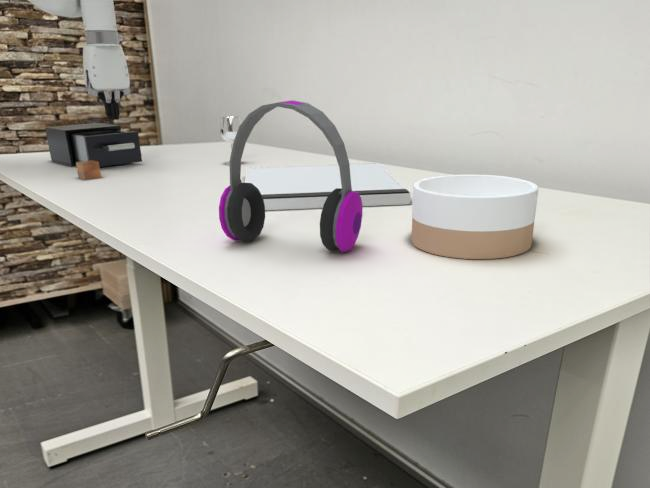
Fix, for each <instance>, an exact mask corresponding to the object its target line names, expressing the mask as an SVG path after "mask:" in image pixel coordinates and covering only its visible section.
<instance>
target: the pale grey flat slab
mask: <svg viewBox="0 0 650 488" xmlns="http://www.w3.org/2000/svg"><path fill="white" fill-rule="evenodd" d="M349 165H350V176H351V187H352V191H355V192H357V193H358V194H359V195H360V197H361V200H362V205H363V207H377V206H400V205H404V206H405V205H411V197H412V196H411V195H412V194H411V191H410V190H409V189H408V188H407V187H406V186H404V185H403V184H402V183H401V182H400V181H399V180H398V179H397V178H395V177H394V175H392V173H390V172H389V171H388V170H387V169H386V168H384V167H383V165H381V164H380V162H361V163H349ZM243 183H252V184H253V185H254V186H256V187H257V188H258V189H259V191H260V193H261V195H262V197H263V200H264V205H265V211H283V210H304V209H306V210H307V209H309V210H310V209H323V206H324V203H325V201H326V199H327V197H328V195H329V194H330V193H331V192H332V191H333V190H335V189H336V188H341V189H342V185H341V177H340V169H339V165H338V163H335V164H312V165H311V164H307V165H306V164H305V165H283V166H282V165H278V166H255V167H254V166H253V167H246V169H245V177H244V181H243Z"/></svg>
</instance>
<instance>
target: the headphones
mask: <svg viewBox="0 0 650 488" xmlns="http://www.w3.org/2000/svg"><path fill="white" fill-rule="evenodd" d="M276 108H283V109H287V110H288V109H289V110H293V111H295V112H296V113H299V114H300V115H302V116H304V117H305V118H308V119H309V121H311V122H312V123H313V124H314V125H315V126H316V127H317V128H318V129H319V130H320V131H321V133H323V135H324V136H325V138H326V140H327V142H328V143H329V144H330V146H331V148H332V150H333V152H334V156H335V158H336V163H337V164H338V165H339V169H340V177H341V185H342V189H341V188H336V189H335V190H333V191H332V192H331V193H330V194H329V195H328V197H327V199H326V201H325V203H324V206H323V208H321V209H322V210H321V213H320V219H319V237H320V240H321V244H322V245H323V247H325V249H326V250H328V251H331V252H332V251H333V252H334V251H338V250H339V251H340V252H341V253H346V252H349V251H351V250H352V249H353V248H354V246H355V245H356V242H357V240H358V238H359V234H360V231H361V228H362V221H363V209H364V208H363V207H364V206H363V205H362V200H361V197H360V195H359V194H358V193H357V192H355V191H352V187H351V176H350V165H349V164H350V161H349V156H348V153H347V149H346V145H345V142H344V140H343V138H342V136H341V135H340V133H339V131H338V128H337V127H336V125H335V124H334V123H333V121H332V120H331V119H330V118H329V117H328V116H327V115H326V113H324V112H323V111H322V110H321V109H319V108H318V107H315V106H314V105H312V104H310V103H309V102H305V101H299V100H293V99H291V100H286V101H285V100H284V101H279V102H274V103H267V104H262V105H261V106H259V107H257V108H256V109H254V110H252V111H251V112H250V113H248V114H247V116H246V117H245V118H244V119H243V121H242V122H241V125H240V126H239V129H238V131H237V134H236V137H235V139H234V142H233V146H232V149H231V152H230V156H229V163H230V165H229V185H228V186H227V187H226V188H224V190H223V191H222V194H221V195H220V200H219V205H218V219H219V223H220V227H221V229H222V231H223V233H224V234H225V236H226V237H227V238H229V239H230V240H232V241H234V242H235V241H241V242H244V243H249V242H253V241H255V240H256V239H257V238H258V237H259V236H260V235H261V233H262V231H263V229H264V226H265V220H266V210H265V205H264V200H263V197H262V195H261V193H260V191H259V189H258V188H257V187H256V186H254V185H253V184H252V183H244V182H242V179H241V176H242V175H241V171H242V164H241V163H242V158H243V155H244V152H245V151H244V150H245V147H246V144H247V141H248V139H249V138H250V135H251V133H252V132H253V130H254V128H255V126H256V125H257V124H258V123H259V122H260V120H261V119H262V118H263V117H264V116H265V115H266V114H267V113H269V112H272V111H273V110H275V109H276Z"/></svg>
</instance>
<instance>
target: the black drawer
mask: <svg viewBox="0 0 650 488" xmlns="http://www.w3.org/2000/svg"><path fill="white" fill-rule="evenodd" d="M69 139H70V145H71V150H72V156H73V161H74V162H81V161H89V160H93V161H97V162H99V167H100V168H102V167H110V166H118V165H119V166H120V165H126V164H134V163H141V162H143V157H142V150H141V144H140V135H139V131H136V130H135V131H126V130H121V131H119V130H104V131H93V132H83V133H72V134H69Z"/></svg>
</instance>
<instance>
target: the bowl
mask: <svg viewBox="0 0 650 488" xmlns="http://www.w3.org/2000/svg"><path fill="white" fill-rule="evenodd" d="M538 197H539V186H538V185H537V184H536V183H534V182H532V181H529V180H526V179H522V178H518V177H512V176H505V175H493V174H447V175H446V174H445V175H437V176H431V177H426V178H422V179H420V180H418V181H416V182H414V183H413V186H412V204H411V205H412V207H411V208H412V209H411V243H412V245H413V246H414V247H416V248H417V249H419V250H421V251H422V252H426V253H429V254H432V255H436V256H440V257H446V258H453V259H465V260H495V259H503V258H510V257H515V256H518V255H522V254H524V253H526V252H528V251H530V249H531V247H532V244H533V236H534V228H535V220H536V214H537V204H538Z"/></svg>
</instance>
